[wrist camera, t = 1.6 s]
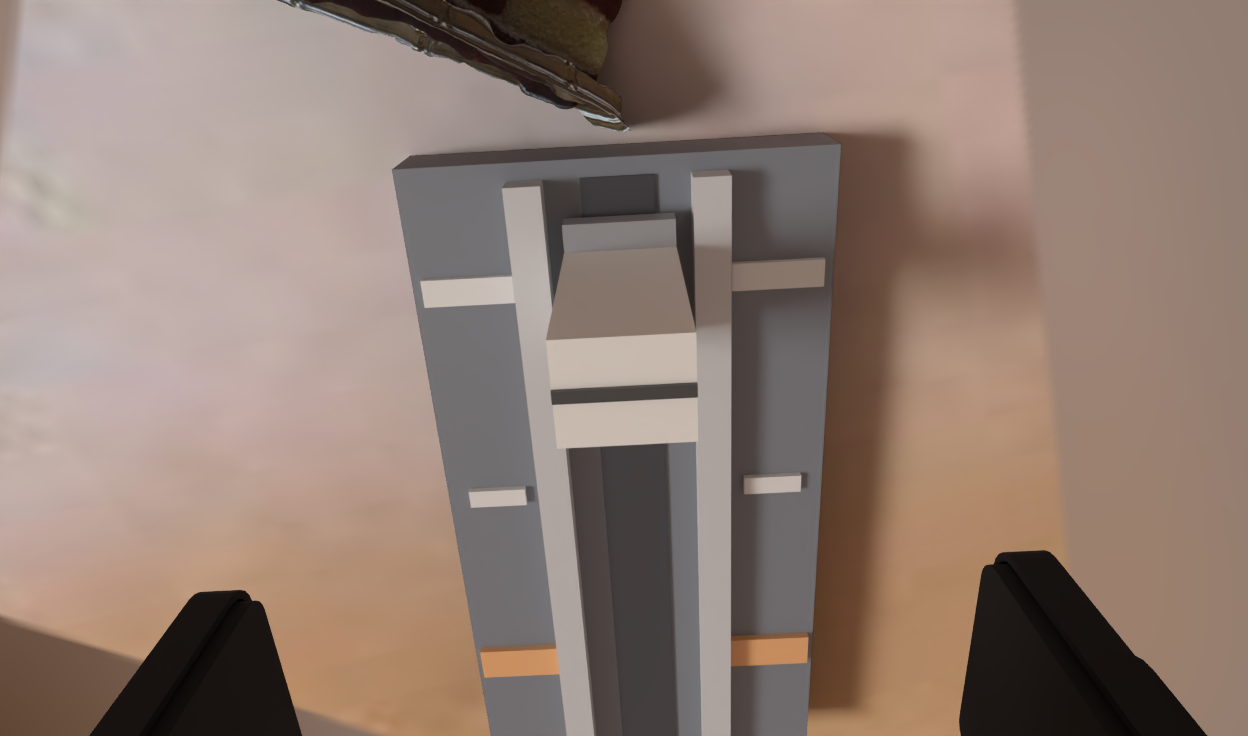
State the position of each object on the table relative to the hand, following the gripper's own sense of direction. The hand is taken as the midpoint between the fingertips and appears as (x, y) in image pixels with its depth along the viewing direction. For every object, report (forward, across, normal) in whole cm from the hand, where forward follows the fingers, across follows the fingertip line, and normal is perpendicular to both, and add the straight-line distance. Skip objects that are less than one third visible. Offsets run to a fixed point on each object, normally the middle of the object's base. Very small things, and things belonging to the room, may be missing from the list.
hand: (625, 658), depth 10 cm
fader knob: (+13, 0, -1) cm, 14 cm away
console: (+16, 0, +7) cm, 18 cm away
